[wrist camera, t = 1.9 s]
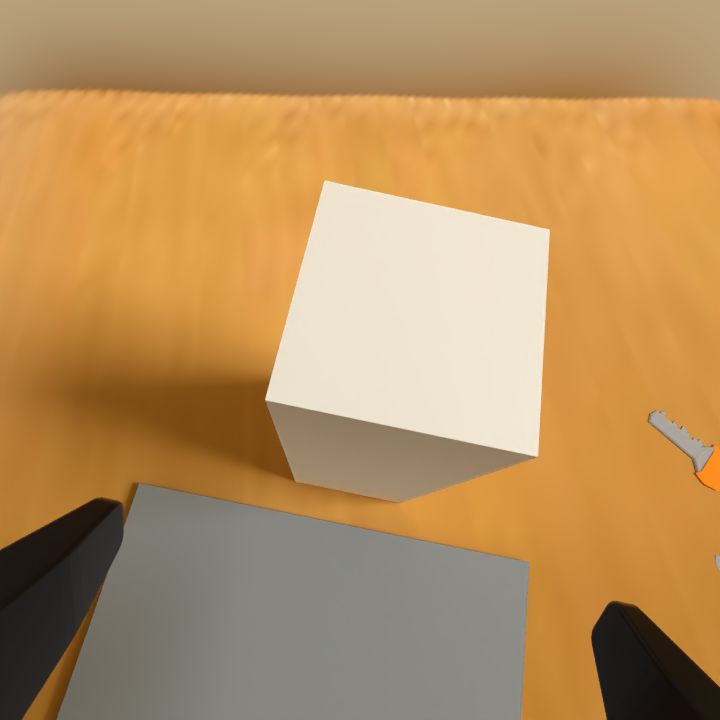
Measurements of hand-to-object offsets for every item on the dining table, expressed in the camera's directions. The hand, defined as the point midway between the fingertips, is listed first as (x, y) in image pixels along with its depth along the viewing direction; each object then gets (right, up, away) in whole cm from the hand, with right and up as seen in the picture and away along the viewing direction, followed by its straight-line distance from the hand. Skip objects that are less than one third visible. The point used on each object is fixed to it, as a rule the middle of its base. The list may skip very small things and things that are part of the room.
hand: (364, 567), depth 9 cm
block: (0, 0, +12) cm, 12 cm away
